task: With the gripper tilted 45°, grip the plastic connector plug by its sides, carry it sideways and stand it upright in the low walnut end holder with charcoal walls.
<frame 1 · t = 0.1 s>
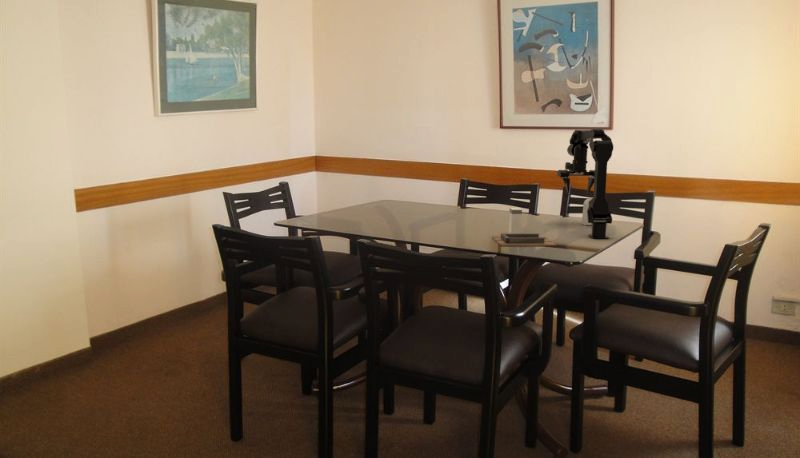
hand: (577, 192, 318), 15 cm above the table, tool pointing down, fingers open, 9 cm apart
end holder: (523, 242, 282), on the table
connector plug: (514, 234, 296), on the table
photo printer: (591, 224, 324), on the table
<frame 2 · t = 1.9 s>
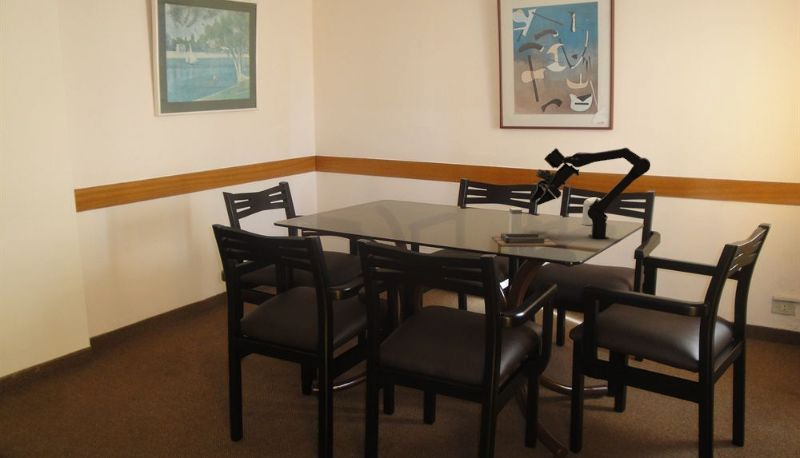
hand: (533, 202, 295), 13 cm above the table, tool tilted 45°, fingers open, 9 cm apart
nothing on the table moved.
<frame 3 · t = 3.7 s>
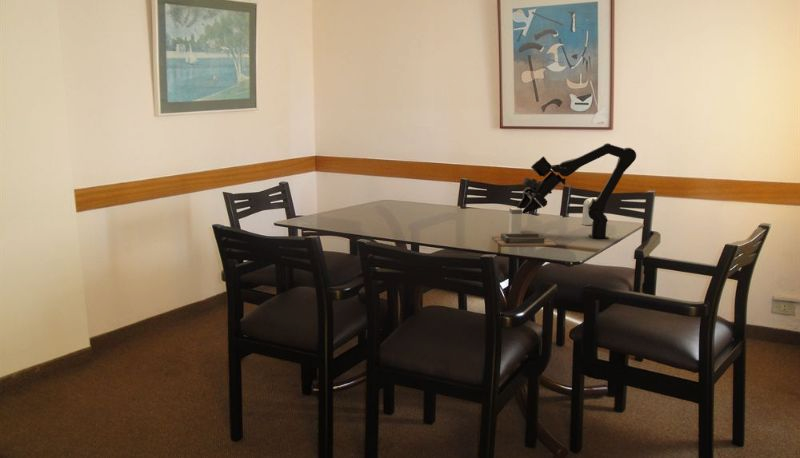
hand: (520, 210, 295), 10 cm above the table, tool tilted 45°, fingers open, 9 cm apart
nothing on the table moved.
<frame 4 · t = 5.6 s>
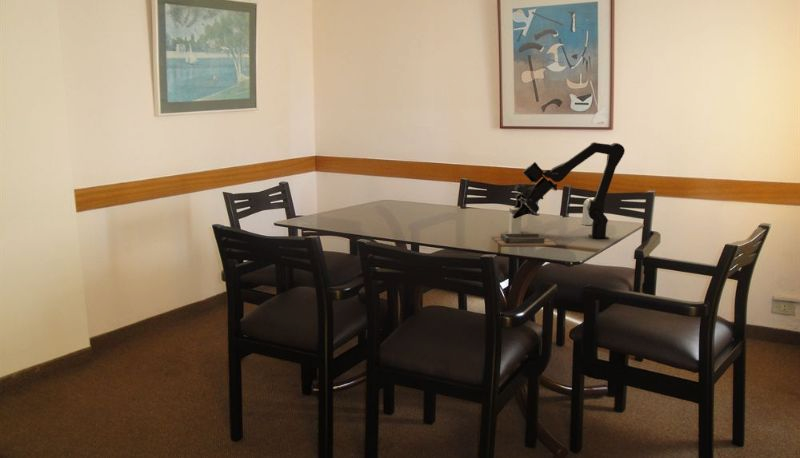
hand: (512, 216, 295), 8 cm above the table, tool tilted 45°, fingers closed on connector plug, 5 cm apart
connector plug: (514, 234, 296), on the table, touching gripper
everything else where it was.
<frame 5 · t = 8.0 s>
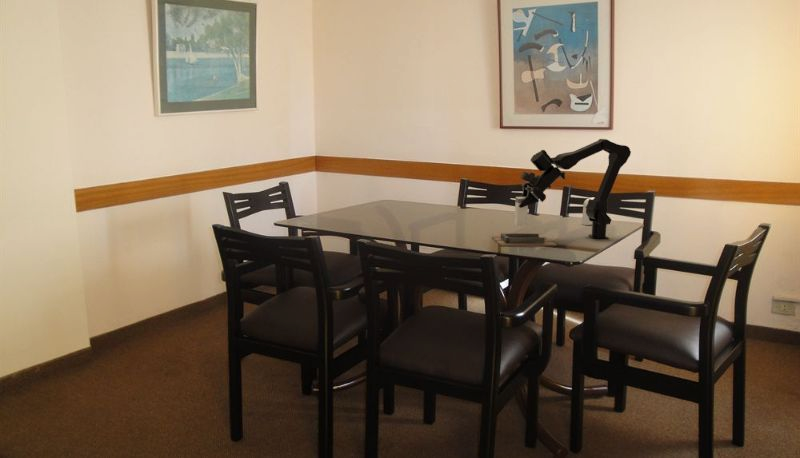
hand: (518, 206, 285), 14 cm above the table, tool tilted 45°, fingers closed on connector plug, 5 cm apart
connector plug: (520, 224, 286), point 6 cm above the table, touching gripper
everything else where it was.
when the fingers open (9 cm above the table, at t = 10.4 s): connector plug stays where it is, resting on end holder.
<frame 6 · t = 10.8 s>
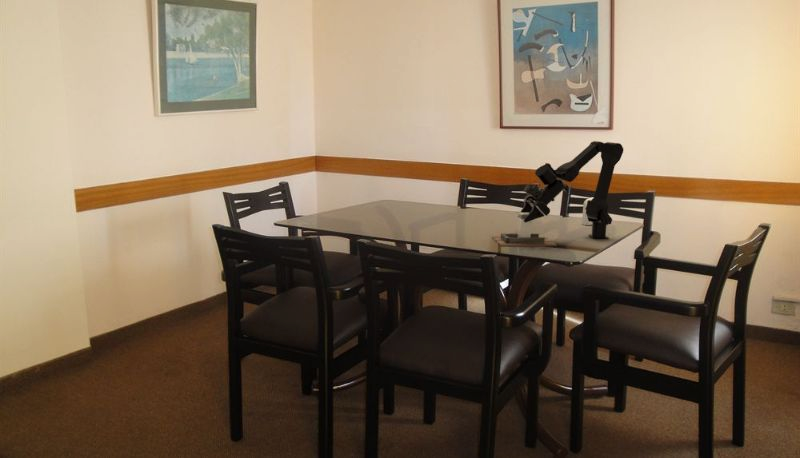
hand: (521, 219, 280), 9 cm above the table, tool tilted 45°, fingers open, 9 cm apart
connector plug: (523, 240, 282), resting on end holder
everything else where it was.
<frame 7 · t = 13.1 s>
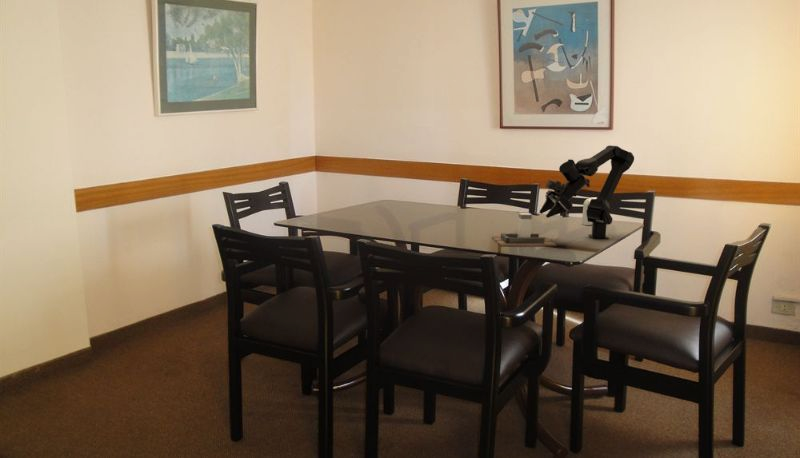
hand: (543, 214, 280), 11 cm above the table, tool tilted 45°, fingers open, 9 cm apart
nothing on the table moved.
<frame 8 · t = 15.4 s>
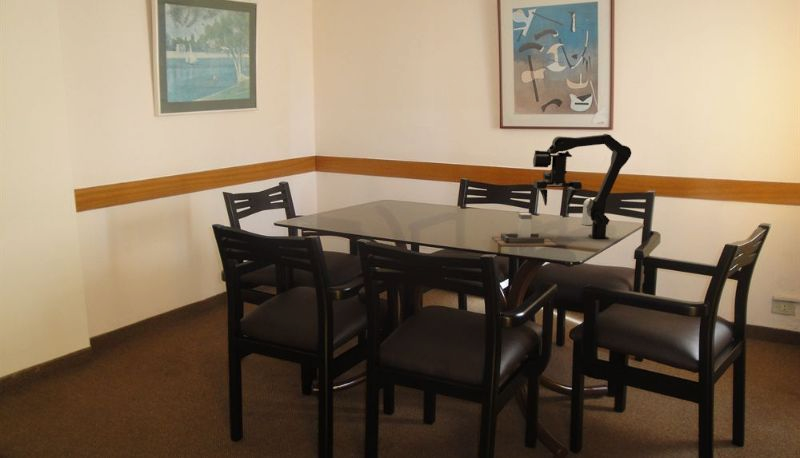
hand: (556, 205, 291), 13 cm above the table, tool pointing down, fingers open, 9 cm apart
nothing on the table moved.
at the end: connector plug inside the target area on the end holder (0.0 cm from its centre), point 0.5 cm above the end holder's base; connector plug tilted 0°; the gripper is holding nothing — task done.
